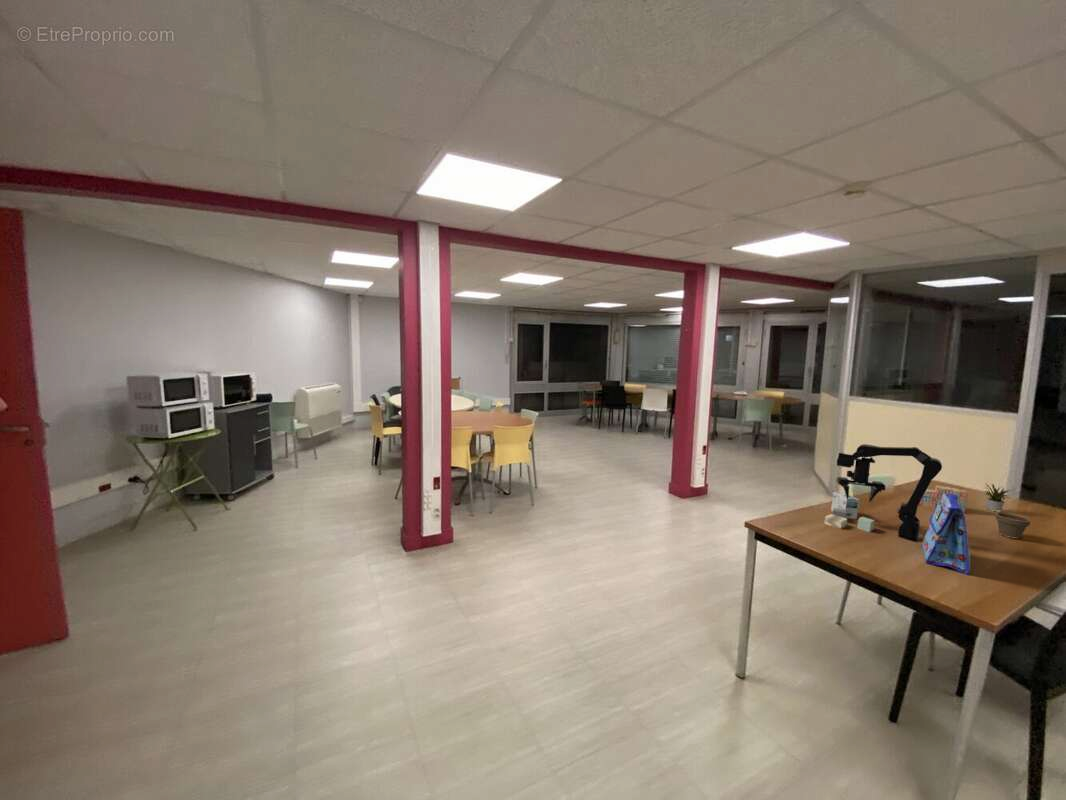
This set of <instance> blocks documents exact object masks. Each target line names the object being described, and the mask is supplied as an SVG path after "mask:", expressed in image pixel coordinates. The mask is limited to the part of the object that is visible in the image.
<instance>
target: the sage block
mask: <svg viewBox="0 0 1066 800" xmlns="http://www.w3.org/2000/svg"><path fill="white" fill-rule="evenodd" d="M874 526H875V519H872V518H868V517H864V516H861V517H859V518H858V520H857V526H856V527H857V530H858V529H859V530H862V531H865V532H867V533H870V532H872V531H874Z"/></svg>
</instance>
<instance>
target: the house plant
mask: <svg viewBox="0 0 1066 800" xmlns="http://www.w3.org/2000/svg"><path fill="white" fill-rule="evenodd" d="M983 487H984V488H985V489H987V490H986V491H983V493H985V496H988V497H987V498H986V509H987V508H988V509H992V510H1001V511H1002V509H1003V506H1004V505H1005V503H1006V502H1005V500H1006V499H1008V498H1009V499H1010V498H1012V496H1011V495H1010V496H1008V495H1007V493H1008V492H1011V491H1014V490H1016V488H1015V489H1013V488H1012V489H1009V490H1007V489H1006V488H1005V486H1003V488H1002V486H999V487H998V488H996V486H995V484H993V483H991V487H992V488H991V487H990V486H989V485H988V484H985V485H983ZM1001 488H1002V489H1001ZM992 489H993V490H992ZM1000 489H1001V490H1000ZM1005 489H1006V490H1005ZM999 490H1000V492H999ZM1005 494H1006V495H1005Z"/></svg>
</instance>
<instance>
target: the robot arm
mask: <svg viewBox="0 0 1066 800" xmlns="http://www.w3.org/2000/svg"><path fill="white" fill-rule="evenodd" d="M878 456H889V457H890V456H893V457H895V456H896V457H913V458H914V459H915V460H917V462H919V463H920V464H921V465H923V469H922V473H921V476H920V478H919V479H918V482H917V484H916V485H915V486H914V488H915V489H914V490H913V491H912V493H911V495H910V496H909V498H908V501H906V502H901V504H900V506H899V508H898V509H897V512H896V513H898V518H899V521H901V524H900V525H899V526H898V532H897V534H898V535H897V536H898V537H899V538H903V539H906V540H908V541H913V542H917V541H918V540H919V539H920V537H919V536H920V532H921V531H920V530H921V526H920V525H921V520H920V518H918V517H917V516H916V514H917V510H918V506H920V505H919V503H920V501H921V499H922V497H923V495H924V493H925V491H926V490H927V489H929V486H930V484H931V482H932V481H933V479H934V478H935V477H937V475H938V474H939V473H940V472H941V470H942V468H943V465H942V462H941V461H940V459H938V458H934V457H932V456H930V455H928V454H927V453H926V452H925V451H924V452H923V451H922V450H921V449H920V448H919V447H916V446H912V447H905V446H903V447H902V446H901V447H896V446H894V447H892V446H877V445H872V444H865V443H863V444H860V445H859V446H858V447H857V448H856V451H855V452H853V453H852V454H849V453H848V454H847V453H843V452H839V453H838V457H837V460H836V466H837V467H844V468H848V469H849V468H851V467H854V471H853V470H847V471H846V477H845V476H844V477H842V476H838V477H837V478H836V483H837V484H838V485H840V486H841V487H842V488H843V490H844V493H845V494H846V498H847V499H848V497H849V495H850V494H849V493H850V486H849V485H856V486H864V487H870V493H869V497H868V501H869V502H870V503H872V501H873V499H874V498H875V497H876V495H878V494H879V492H880V493H881V492H882V491H886V484H884V483H883V482H882V481H878V480H877V481H874V480H872V482H869V477H870V467H871V463H872V464H875V463H876V460H875V459H874V458H873V457H878ZM848 478H850V479H848Z"/></svg>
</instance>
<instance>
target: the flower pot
mask: <svg viewBox="0 0 1066 800" xmlns="http://www.w3.org/2000/svg"><path fill="white" fill-rule="evenodd" d="M994 517H995V520H997V526H998V532H999V534H1000V533H1001V534H1003V535H1006V536H1010V537H1017V538H1019V537H1020V538H1021V537H1022V536H1023V534H1024V532H1025V530H1026V529H1027V527H1029V526H1030V525H1031V520H1030V519H1028V518H1026V517H1023V516H1020V515H1016V514H1011V513H1005V512H995V516H994ZM1020 538H1019V539H1020Z"/></svg>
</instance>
